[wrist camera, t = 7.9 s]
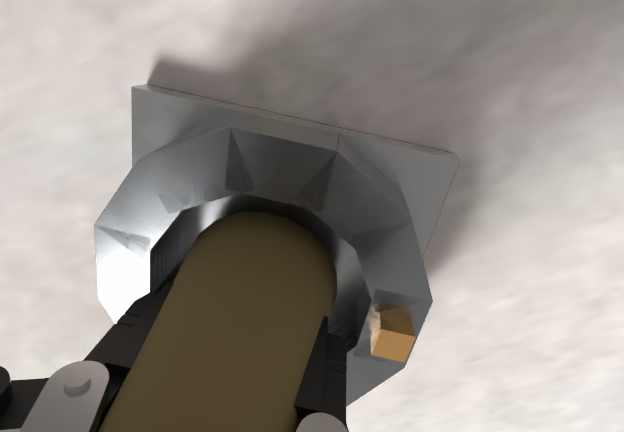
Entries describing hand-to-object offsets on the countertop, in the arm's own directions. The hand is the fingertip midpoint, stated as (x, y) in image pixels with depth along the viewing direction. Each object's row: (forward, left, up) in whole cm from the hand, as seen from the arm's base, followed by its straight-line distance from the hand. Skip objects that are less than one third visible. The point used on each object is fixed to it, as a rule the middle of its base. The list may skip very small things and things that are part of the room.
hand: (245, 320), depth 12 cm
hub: (0, 0, -5) cm, 5 cm away
